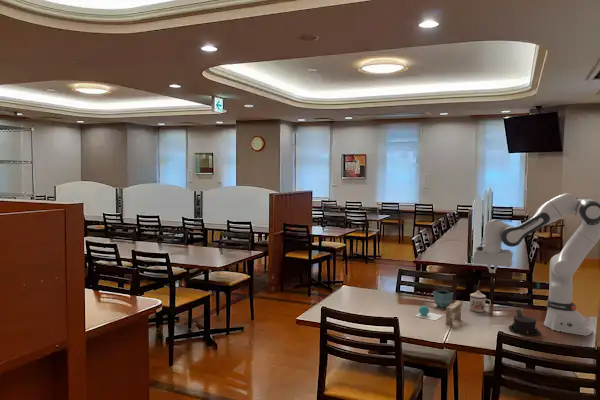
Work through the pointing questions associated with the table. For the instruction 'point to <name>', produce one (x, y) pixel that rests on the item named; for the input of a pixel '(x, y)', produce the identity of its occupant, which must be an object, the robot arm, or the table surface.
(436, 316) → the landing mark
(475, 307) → the teacup with lid
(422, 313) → the ball
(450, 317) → the bridge
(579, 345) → the table surface
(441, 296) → the flower pot
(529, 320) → the top hat
